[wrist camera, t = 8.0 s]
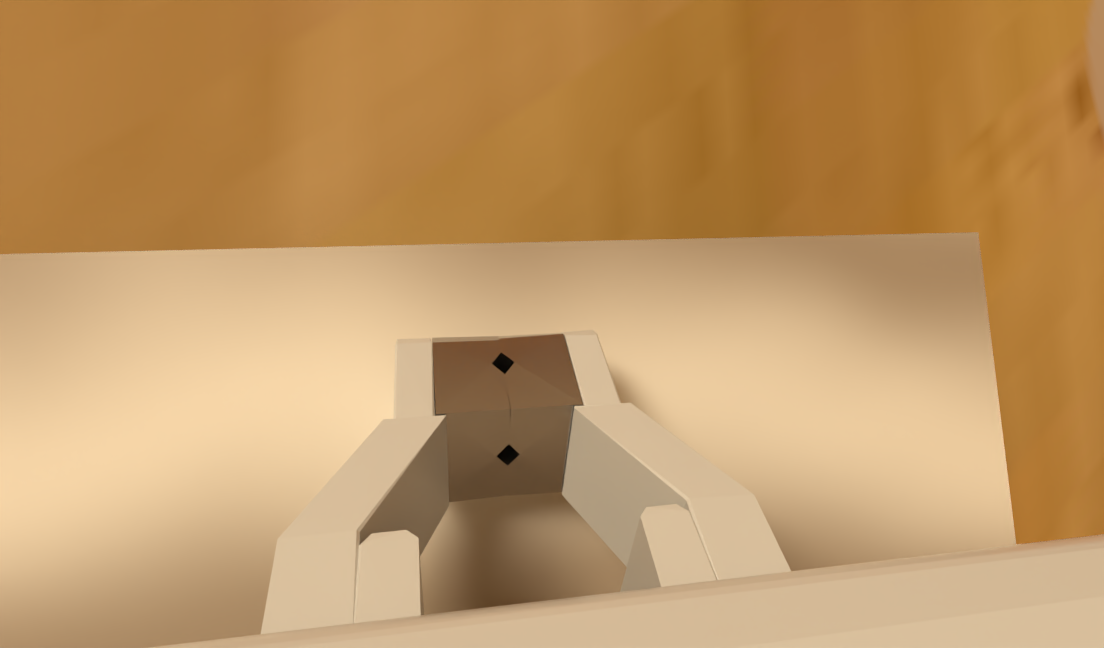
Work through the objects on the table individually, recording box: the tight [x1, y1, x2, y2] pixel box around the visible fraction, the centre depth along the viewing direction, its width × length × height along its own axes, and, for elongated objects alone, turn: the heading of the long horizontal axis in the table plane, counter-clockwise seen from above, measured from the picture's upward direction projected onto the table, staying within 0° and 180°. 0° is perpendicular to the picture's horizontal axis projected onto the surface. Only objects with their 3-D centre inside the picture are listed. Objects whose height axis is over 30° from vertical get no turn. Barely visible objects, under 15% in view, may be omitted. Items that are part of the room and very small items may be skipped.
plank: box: [0, 232, 1016, 648], centre depth 12 cm, size 13×19×2 cm
